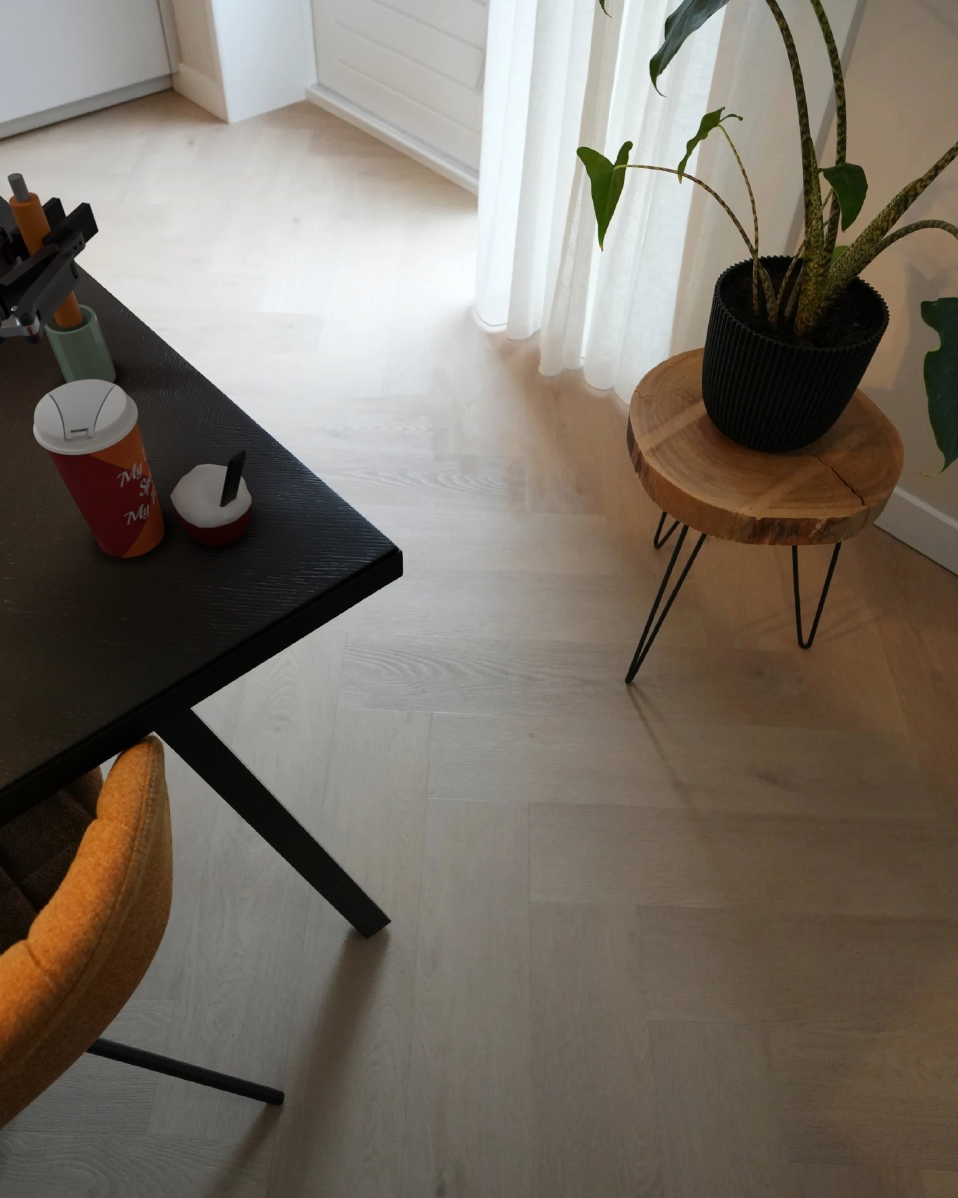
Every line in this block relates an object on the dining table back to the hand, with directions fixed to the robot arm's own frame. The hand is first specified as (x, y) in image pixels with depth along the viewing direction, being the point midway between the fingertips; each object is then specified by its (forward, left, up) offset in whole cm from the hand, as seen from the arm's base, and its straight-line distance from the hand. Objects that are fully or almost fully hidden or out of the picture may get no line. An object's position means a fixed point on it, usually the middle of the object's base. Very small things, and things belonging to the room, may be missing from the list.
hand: (75, 214), depth 88 cm
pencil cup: (0, -5, -15) cm, 16 cm away
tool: (0, -5, -8) cm, 9 cm away
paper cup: (+13, -24, -15) cm, 31 cm away
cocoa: (+20, -23, -15) cm, 34 cm away
